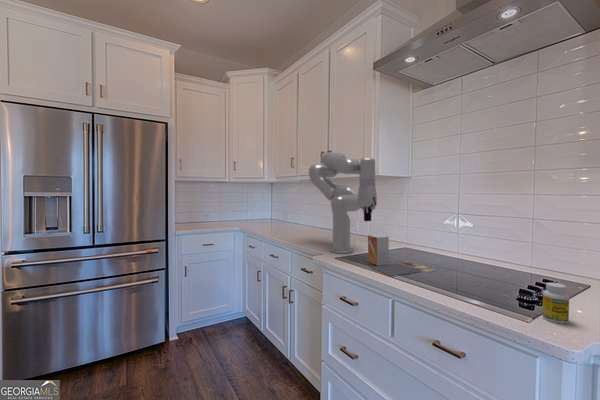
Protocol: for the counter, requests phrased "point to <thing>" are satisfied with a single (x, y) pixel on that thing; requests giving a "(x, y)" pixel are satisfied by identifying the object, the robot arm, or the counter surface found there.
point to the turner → (418, 266)
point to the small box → (378, 249)
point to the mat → (395, 269)
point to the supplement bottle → (556, 303)
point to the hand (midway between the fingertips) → (367, 220)
